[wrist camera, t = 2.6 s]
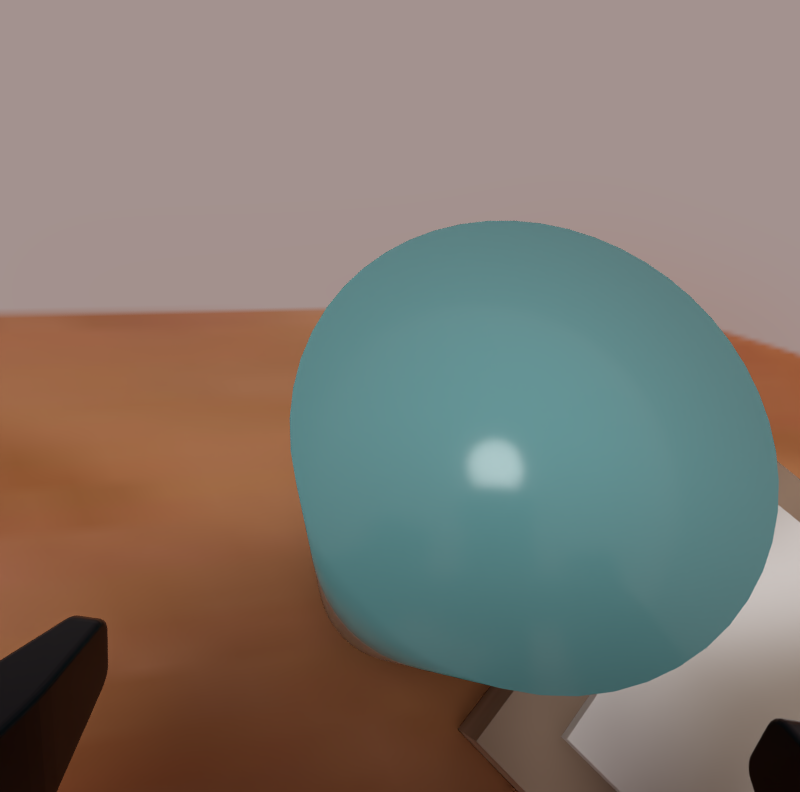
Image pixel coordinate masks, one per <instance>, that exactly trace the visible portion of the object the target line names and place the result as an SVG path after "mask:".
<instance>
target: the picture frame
mask: <svg viewBox="0 0 800 792" xmlns="http://www.w3.org/2000/svg"><path fill="white" fill-rule="evenodd" d="M777 468H778V478H779V492H778V514H777V520H776V525H775V531H774V537H773V542H772V545H771V548H770V551H769V554H768V558H767V561H766V564H765V567H764V570H763V572H762V574H761V576H760V578H759V580H758V582H757V584H756V586H755V588H754V590H753V592H752V594H751V596H750V598H749V600H748V601H747V602H746V604H745V605H744V606H743V608H742V609H741V610H740V612H739V613H738V615H737V616H736V617H735V619H734V620H733V621H732V623H731V624H730V625H729V626H728V627H727V628H726V629H725V630H724V631H723V632H722V633H721V634H720V635H719V636H718V637H717V638H716V639H715V640H714V641H713V642H712V643H711V644H710V645H709V646H708V647H707V648H706V649H704V650H703V651H701V652H700V653H698V654H697V655H696V656H694V657H693V658H691V659H690V660H688V661H687V662H686V663H684V664H683V665H681V666H680V667H678V668H676V669H674V670H672V671H670V672H668V673H666V674H663V675H661V676H659V677H657V678H655V679H653V680H651V681H649V682H646V683H642V684H639V685H635V686H632V687H629V688H625V689H622V690H618V691H615V692H608V693H600V694H592V695H584V696H549V695H536V694H530V693H525V692H519V691H513V690H508V689H502V688H498V687H494V686H490V688H489V689H488V690H487V692H486V693H485V694H484V696H483V697H482V698H481V699H480V701H479V702H478V703H477V705H476V706H475V707H474V709H473V710H472V711H471V713H470V714H469V715H468V716H467V718H466V719H465V720H464V722H463V723H462V724H461V726H460V727H459V728H458V730H459V731H460V732H461V733H462V734H463V735H464V736H465V737H466V738H467V739H468V740H469V741H470V742H471V744H472V745H473V746H474V747H475V748H476V749H477V750H478V751H479V752H480V753H481V754H482V755H483V756H484V757H485V758H486V759H487V760H488V761H489V762H490V763H491V764H492V765H493V766H494V767H495V768H496V769H497V770H498V771H499V772H500V773H501V774H502V775H503V776H504V778H505V779H506V780H507V781H508V782H509V783H510V784H511V785H512V786H513V787H514V788H515V789H516V790H517V791H518V792H754V789H753V786H752V783H751V780H750V776H749V758H750V756H751V754H752V752H753V750H754V748H755V747H756V745H757V743H758V741H759V740H760V738H761V736H762V734H763V732H764V731H765V729H766V727H767V725H768V724H769V722H770V721H772V720H773V719H775V718H783V719H790V720H797V721H800V479H799V478H798V477H796V476H795V475H794V474H793V473H791V472H790V471H789V470H788V469H786V468H785V467H784V466H783V465H781V464H780V463H779V462H778V461H777Z"/></svg>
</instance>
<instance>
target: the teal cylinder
mask: <svg viewBox="0 0 800 792" xmlns="http://www.w3.org/2000/svg"><path fill="white" fill-rule="evenodd" d="M290 440H291V455H292V461H293V467H294V472H295V478H296V484H297V489H298V493H299V498H300V503H301V508H302V512H303V517H304V522H305V526H306V531H307V536H308V540H309V545H310V550H311V554H312V559H313V564H314V568H315V573H316V578H317V582H318V587H319V592H320V596H321V600H322V603H323V606H324V609H325V611H326V613H327V615H328V617H329V619H330V621H331V622H332V624H333V625H334V627H335V628H336V630H337V631H338V632H339V633H340V634H341V636H342V637H343V638H344V639H345V640H347V641H348V642H349V643H350V644H351V645H352V646H354V647H355V648H357V649H358V650H360V651H361V652H363V653H365V654H367V655H369V656H372V657H375V658H378V659H381V660H384V661H389V662H393V663H397V664H401V665H405V666H410V667H414V668H418V669H422V670H426V671H431V672H435V673H439V674H443V675H448V676H452V677H456V678H460V679H464V680H469V681H473V682H477V683H481V684H485V685H490V686H494V687H498V688H502V689H508V690H513V691H519V692H525V693H530V694H536V695H549V696H584V695H592V694H600V693H608V692H615V691H618V690H622V689H625V688H629V687H632V686H635V685H639V684H642V683H646V682H649V681H651V680H653V679H655V678H657V677H659V676H661V675H663V674H666V673H668V672H670V671H672V670H674V669H676V668H678V667H680V666H681V665H683V664H684V663H686V662H687V661H688V660H690V659H691V658H693V657H694V656H696V655H697V654H698V653H700V652H701V651H703V650H704V649H706V648H707V647H708V646H709V645H710V644H711V643H712V642H713V641H714V640H715V639H716V638H717V637H718V636H719V635H720V634H721V633H722V632H723V631H724V630H725V629H726V628H727V627H728V626H729V625H730V624H731V623H732V621H733V620H734V619H735V617H736V616H737V615H738V613H739V612H740V610H741V609H742V608H743V606H744V605H745V604H746V602H747V601H748V600H749V598H750V596H751V594H752V592H753V590H754V588H755V586H756V584H757V582H758V580H759V578H760V576H761V574H762V572H763V570H764V567H765V564H766V561H767V558H768V554H769V551H770V548H771V545H772V542H773V537H774V531H775V525H776V520H777V514H778V492H779V478H778V468H777V458H776V450H775V445H774V441H773V437H772V432H771V428H770V424H769V420H768V417H767V414H766V412H765V409H764V406H763V403H762V400H761V398H760V395H759V392H758V390H757V388H756V386H755V384H754V382H753V380H752V378H751V376H750V374H749V372H748V370H747V368H746V366H745V364H744V363H743V361H742V360H741V358H740V357H739V355H738V353H737V352H736V350H735V349H734V347H733V346H732V344H731V342H730V341H729V340H728V338H727V337H726V336H725V335H724V333H723V332H722V331H721V330H720V328H719V327H718V326H717V324H716V323H715V322H714V321H713V319H712V318H711V317H710V316H709V315H708V314H707V313H706V312H705V311H704V310H703V309H702V308H701V307H700V306H699V305H698V304H697V303H696V302H695V301H694V300H693V299H692V298H691V297H690V296H689V295H688V294H687V293H686V292H684V291H683V290H682V289H681V288H680V287H678V286H677V285H676V284H675V283H674V282H673V281H671V280H670V279H669V278H668V277H666V276H665V275H663V274H662V273H660V272H659V271H657V270H656V269H654V268H653V267H651V266H650V265H649V264H647V263H646V262H644V261H642V260H640V259H638V258H637V257H635V256H633V255H631V254H629V253H628V252H626V251H624V250H622V249H620V248H618V247H616V246H613V245H611V244H609V243H606V242H604V241H601V240H599V239H597V238H595V237H591V236H588V235H585V234H582V233H579V232H576V231H572V230H569V229H565V228H560V227H555V226H550V225H546V224H541V223H530V222H520V221H485V222H476V223H468V224H460V225H456V226H452V227H447V228H443V229H439V230H435V231H432V232H429V233H427V234H424V235H421V236H419V237H416V238H413V239H411V240H409V241H407V242H405V243H403V244H401V245H399V246H397V247H395V248H393V249H391V250H389V251H388V252H386V253H384V254H383V255H381V256H380V257H379V258H377V259H376V260H374V261H373V262H372V263H370V264H369V265H367V266H366V267H364V268H363V269H362V270H361V271H360V272H359V273H358V274H357V275H356V276H355V277H354V278H352V280H350V281H349V282H348V283H347V284H346V285H345V286H344V287H343V288H342V290H341V291H340V292H339V293H338V294H337V296H336V297H335V298H334V299H333V301H332V302H331V303H330V304H329V305H328V307H327V308H326V310H325V311H324V313H323V315H322V316H321V318H320V320H319V321H318V323H317V325H316V326H315V328H314V330H313V331H312V333H311V336H310V338H309V341H308V343H307V345H306V348H305V350H304V352H303V355H302V357H301V360H300V364H299V368H298V372H297V375H296V379H295V383H294V387H293V395H292V404H291V413H290Z"/></svg>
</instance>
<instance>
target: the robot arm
mask: <svg viewBox="0 0 800 792" xmlns="http://www.w3.org/2000/svg"><path fill="white" fill-rule="evenodd" d="M107 670H108V637H107V625H106V622H105V621H104V620H102V619H98V618H91V617H84V616H72V617H69V618H67V619H65V620H64V621H62V622H61V623H59V624H57V625H56V626H54V627H53V628H51V629H50V630H48V631H46V632H45V633H43V634H42V635H40V636H38V637H37V638H35V639H34V640H32V641H30V642H29V643H27V644H26V645H24V646H23V647H21V648H19V649H18V650H16V651H15V652H13V653H11V654H10V655H8V656H7V657H5V658H3V659H2V660H0V792H57V790H58V788H59V785H60V783H61V781H62V778H63V776H64V774H65V772H66V769H67V767H68V765H69V763H70V760H71V758H72V756H73V753H74V751H75V749H76V747H77V744H78V742H79V740H80V737H81V735H82V733H83V731H84V728H85V726H86V724H87V722H88V719H89V717H90V715H91V712H92V710H93V708H94V706H95V703H96V701H97V699H98V697H99V694H100V692H101V690H102V687H103V685H104V682H105V679H106V675H107ZM749 776H750V780H751V783H752V786H753V789H754V792H800V721H797V720H790V719H783V718H775V719H773V720H772V721H770V722H769V724H768V725H767V727H766V729H765V731H764V732H763V734H762V736H761V738H760V740H759V741H758V743H757V745H756V747H755V748H754V750H753V752H752V754H751V756H750V758H749Z"/></svg>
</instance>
